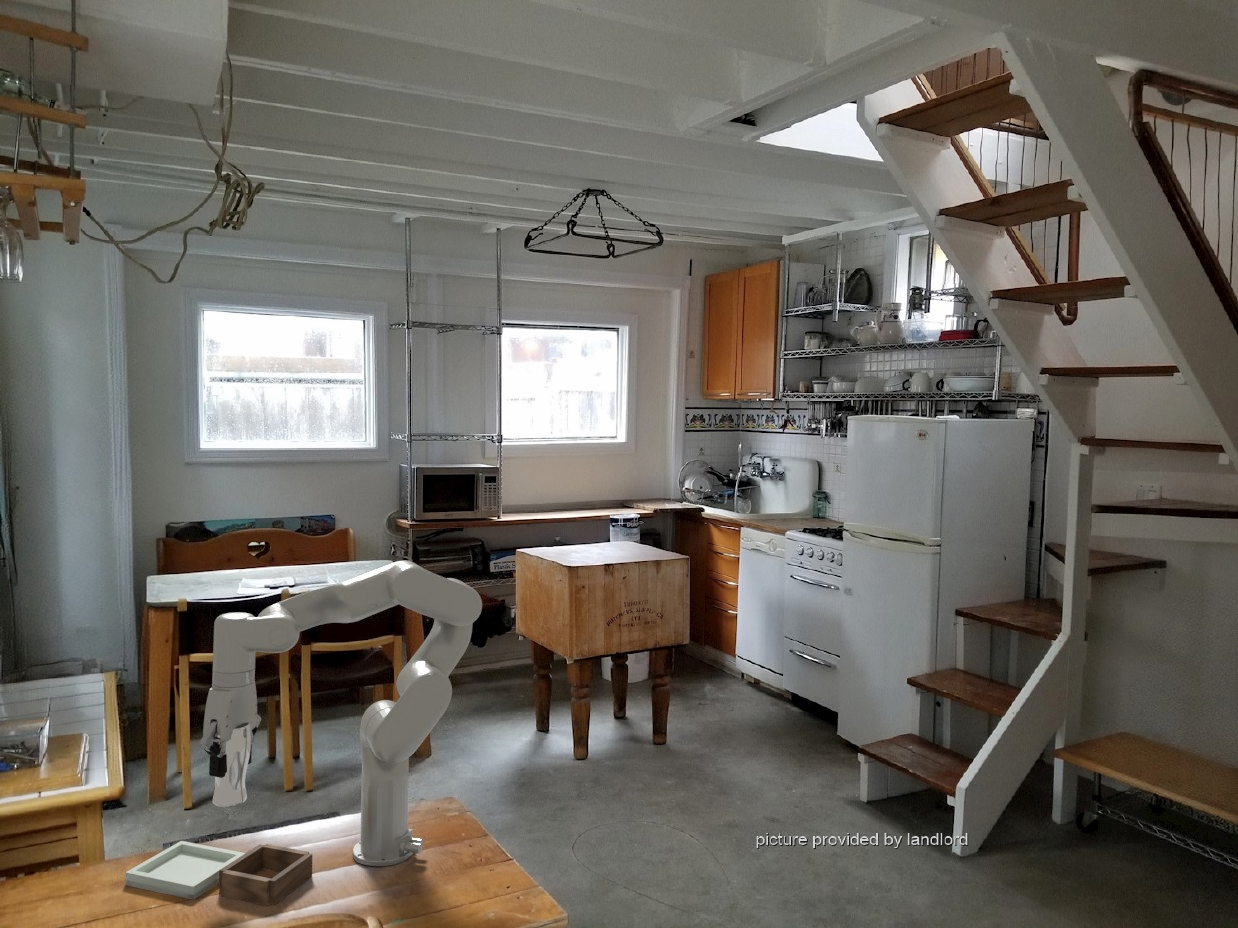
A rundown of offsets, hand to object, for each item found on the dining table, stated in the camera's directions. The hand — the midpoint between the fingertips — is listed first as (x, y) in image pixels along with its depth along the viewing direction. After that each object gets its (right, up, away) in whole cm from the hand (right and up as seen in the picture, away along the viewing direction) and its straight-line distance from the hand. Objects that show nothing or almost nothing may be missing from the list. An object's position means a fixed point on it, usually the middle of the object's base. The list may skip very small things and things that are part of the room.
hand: (230, 768), depth 171 cm
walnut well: (+7, -22, 0) cm, 23 cm away
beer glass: (0, -6, 0) cm, 6 cm away
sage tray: (-10, -22, +3) cm, 24 cm away
